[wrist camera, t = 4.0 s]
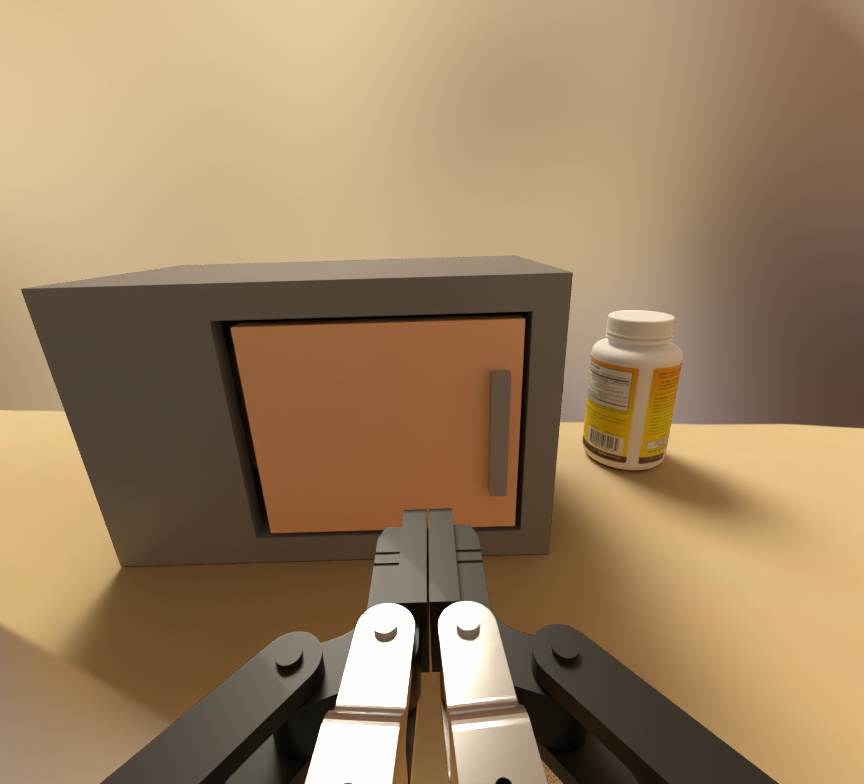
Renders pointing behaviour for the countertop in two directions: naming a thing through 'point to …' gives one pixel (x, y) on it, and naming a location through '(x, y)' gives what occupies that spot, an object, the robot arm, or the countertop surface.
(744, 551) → the countertop surface
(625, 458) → the supplement bottle
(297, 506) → the door
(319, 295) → the housing
